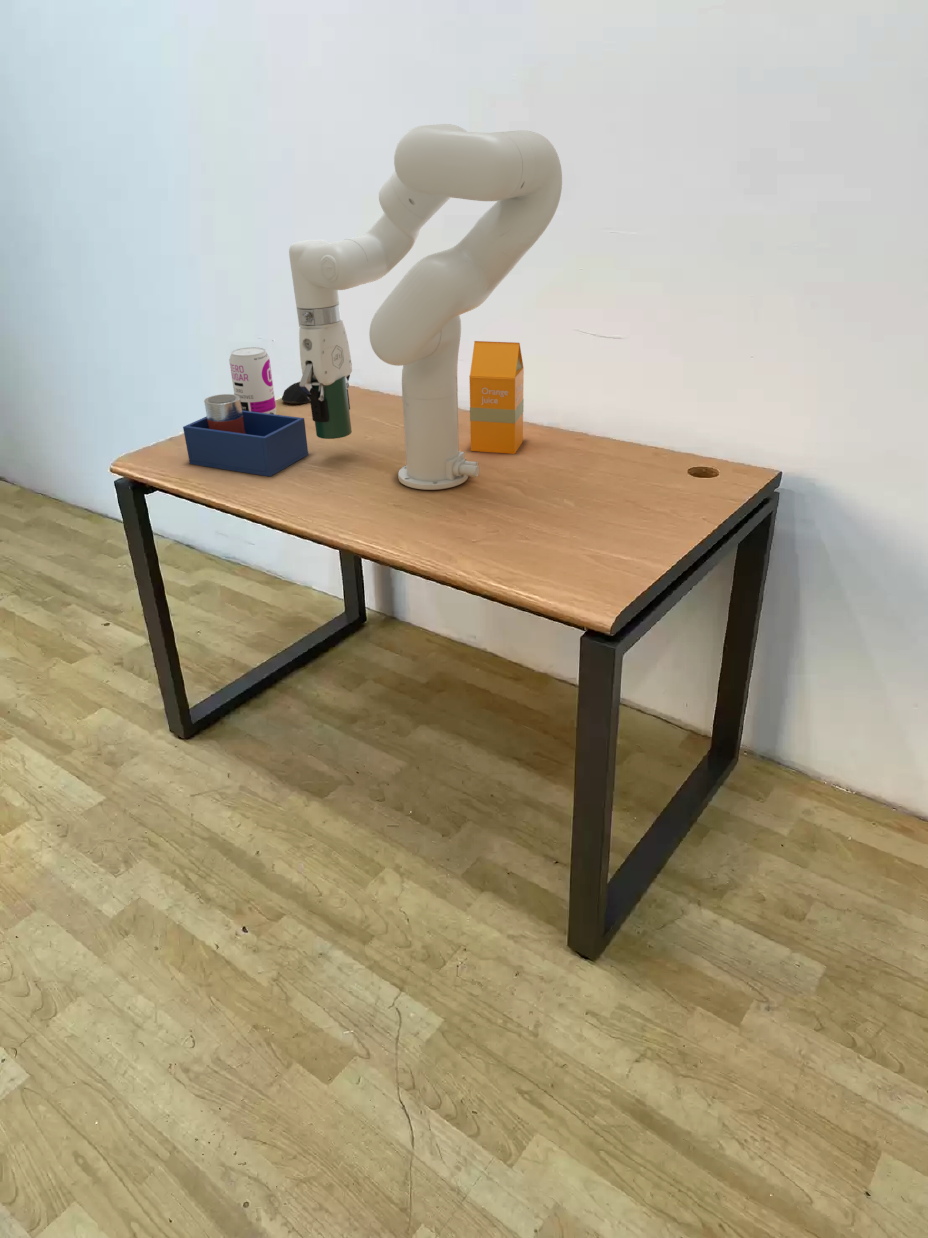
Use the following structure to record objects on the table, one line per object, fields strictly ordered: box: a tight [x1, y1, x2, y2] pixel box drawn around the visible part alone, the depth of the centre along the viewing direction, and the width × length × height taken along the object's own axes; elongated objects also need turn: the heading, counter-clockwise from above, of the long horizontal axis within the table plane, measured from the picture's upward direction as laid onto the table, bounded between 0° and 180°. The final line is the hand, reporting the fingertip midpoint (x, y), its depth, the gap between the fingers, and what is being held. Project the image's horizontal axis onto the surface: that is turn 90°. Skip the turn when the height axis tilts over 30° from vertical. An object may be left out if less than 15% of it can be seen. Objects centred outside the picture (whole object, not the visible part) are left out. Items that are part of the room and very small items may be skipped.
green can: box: [313, 376, 353, 440], centre depth 166 cm, size 7×7×11 cm
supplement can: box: [228, 346, 278, 415], centre depth 190 cm, size 8×8×15 cm
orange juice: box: [469, 340, 525, 455], centre depth 171 cm, size 8×9×20 cm
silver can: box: [203, 393, 246, 434], centre depth 172 cm, size 7×7×11 cm
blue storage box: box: [182, 410, 309, 478], centre depth 171 cm, size 19×13×7 cm
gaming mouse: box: [281, 381, 310, 405], centre depth 208 cm, size 6×15×4 cm, turn 146°
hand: (331, 414), depth 167 cm, fingers closed on green can, 6 cm apart
